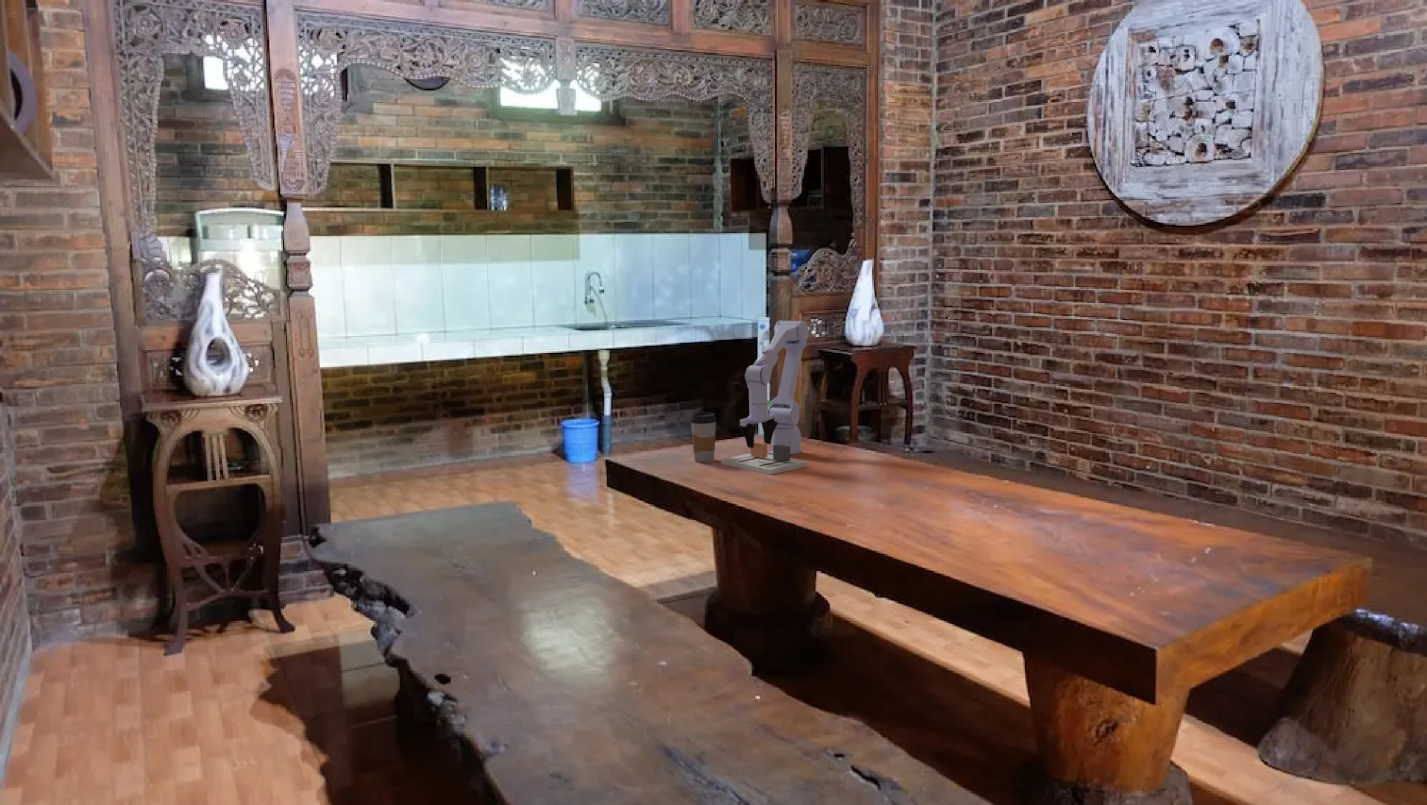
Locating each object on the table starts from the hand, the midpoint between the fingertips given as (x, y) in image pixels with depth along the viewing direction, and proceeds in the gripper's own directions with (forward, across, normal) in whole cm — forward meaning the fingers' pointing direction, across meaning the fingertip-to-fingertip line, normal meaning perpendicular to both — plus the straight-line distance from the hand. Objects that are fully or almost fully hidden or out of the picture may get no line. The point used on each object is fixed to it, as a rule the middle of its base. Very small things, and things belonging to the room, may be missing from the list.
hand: (759, 445), depth 313 cm
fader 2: (+3, -1, +9) cm, 10 cm away
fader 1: (+3, 0, 0) cm, 4 cm away
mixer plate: (+5, +2, +4) cm, 7 cm away
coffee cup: (+6, +10, -15) cm, 19 cm away
